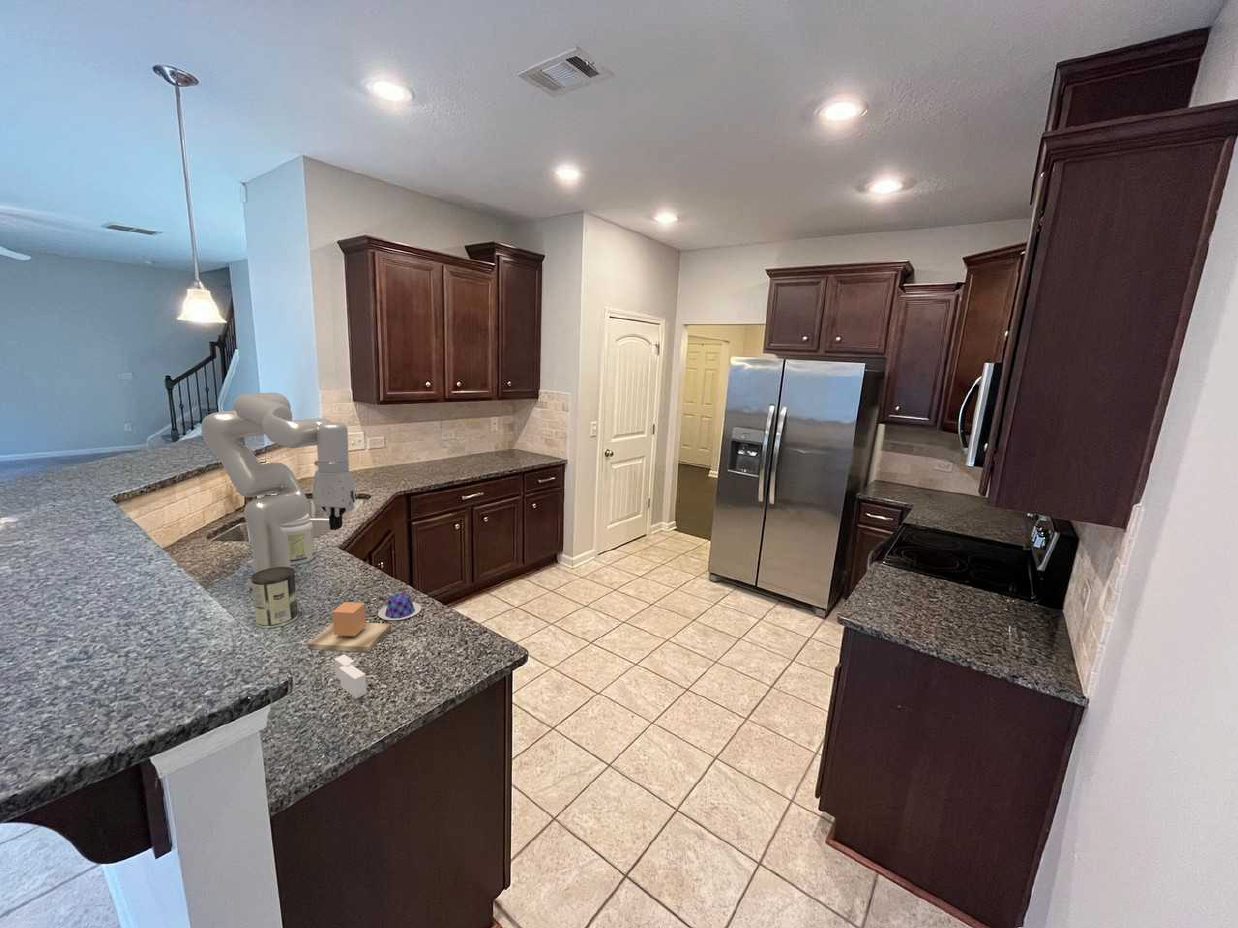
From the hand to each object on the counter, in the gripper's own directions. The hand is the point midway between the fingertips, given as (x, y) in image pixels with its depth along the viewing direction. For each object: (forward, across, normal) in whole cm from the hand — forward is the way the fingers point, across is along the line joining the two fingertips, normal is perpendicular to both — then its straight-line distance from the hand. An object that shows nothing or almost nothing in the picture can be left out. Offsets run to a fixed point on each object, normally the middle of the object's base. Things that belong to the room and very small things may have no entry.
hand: (336, 528), depth 146 cm
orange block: (+23, +12, -14) cm, 29 cm away
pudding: (+26, +18, +2) cm, 31 cm away
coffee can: (+27, -14, -7) cm, 31 cm away
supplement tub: (+28, -38, +36) cm, 60 cm away
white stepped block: (+26, +23, -33) cm, 48 cm away
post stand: (+26, +12, -14) cm, 32 cm away
